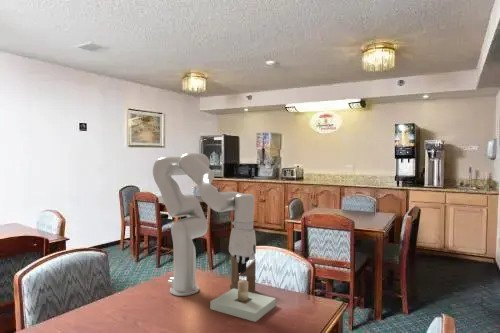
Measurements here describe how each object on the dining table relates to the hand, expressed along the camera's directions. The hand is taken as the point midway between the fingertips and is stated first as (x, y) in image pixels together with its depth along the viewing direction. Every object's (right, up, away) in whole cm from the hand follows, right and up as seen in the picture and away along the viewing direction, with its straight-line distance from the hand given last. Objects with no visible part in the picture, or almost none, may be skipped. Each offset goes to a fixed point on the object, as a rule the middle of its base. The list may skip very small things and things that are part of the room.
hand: (241, 272), depth 135 cm
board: (+1, -14, 0) cm, 14 cm away
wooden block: (0, -14, +16) cm, 21 cm away
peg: (0, -14, 0) cm, 14 cm away
